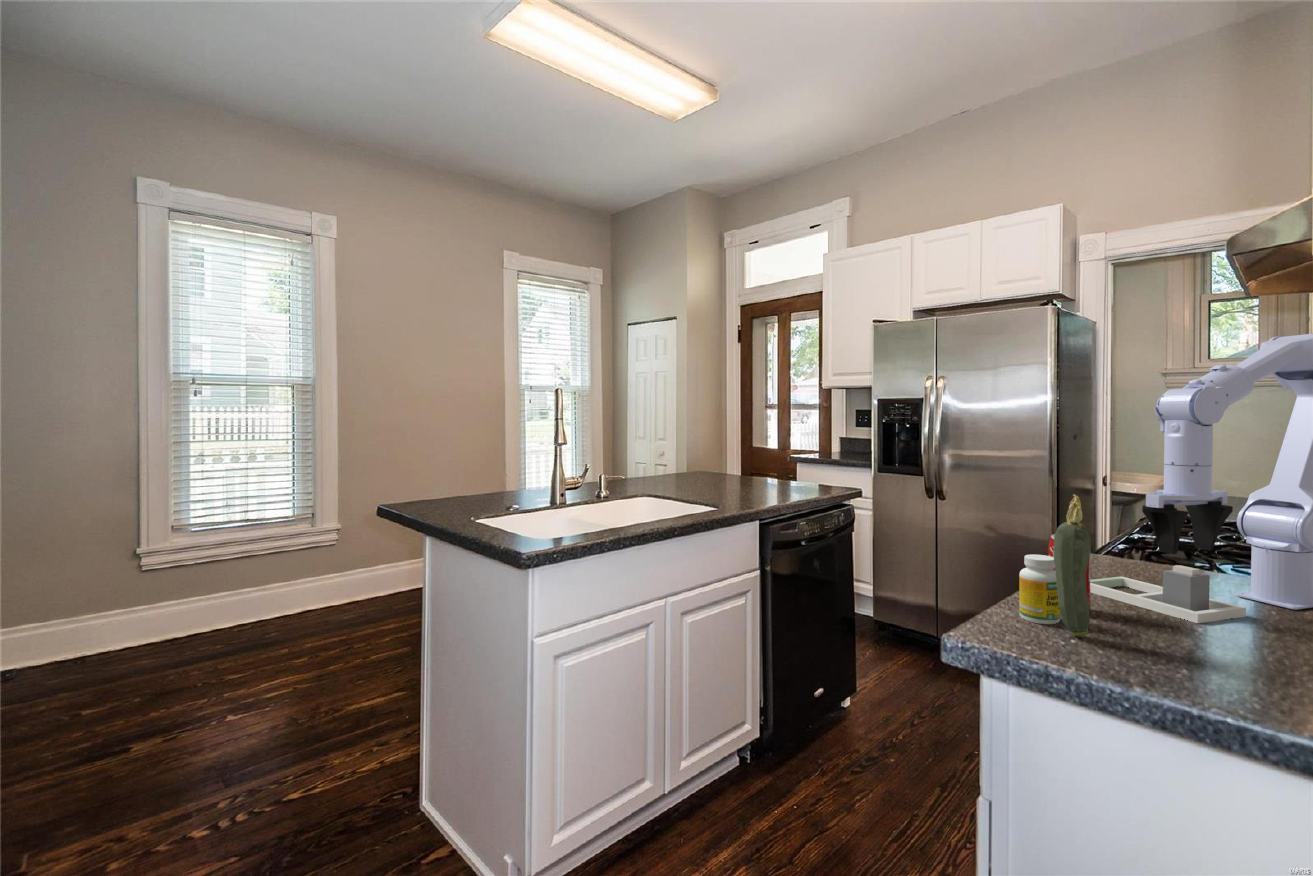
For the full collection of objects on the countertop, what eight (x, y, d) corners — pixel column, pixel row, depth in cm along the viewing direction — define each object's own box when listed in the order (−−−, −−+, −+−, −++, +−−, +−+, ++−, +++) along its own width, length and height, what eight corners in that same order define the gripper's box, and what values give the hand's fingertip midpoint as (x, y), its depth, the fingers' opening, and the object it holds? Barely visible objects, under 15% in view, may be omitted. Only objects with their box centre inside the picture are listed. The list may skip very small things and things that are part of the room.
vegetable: (1078, 644, 83) (1079, 498, 82) (1046, 634, 87) (1046, 494, 86) (1096, 638, 85) (1098, 495, 84) (1064, 629, 89) (1064, 492, 88)
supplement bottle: (1029, 611, 97) (1030, 551, 97) (1067, 620, 92) (1067, 557, 92) (1012, 618, 94) (1012, 556, 94) (1050, 627, 89) (1050, 563, 89)
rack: (1121, 584, 111) (1121, 576, 111) (1245, 616, 93) (1245, 607, 93) (1078, 588, 108) (1078, 581, 108) (1197, 623, 90) (1197, 614, 90)
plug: (1181, 605, 99) (1181, 563, 99) (1209, 613, 95) (1209, 569, 95) (1162, 607, 98) (1163, 565, 97) (1190, 615, 94) (1190, 571, 94)
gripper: (1193, 461, 101) (1191, 542, 102) (1126, 464, 97) (1125, 548, 98) (1243, 464, 94) (1242, 551, 95) (1174, 467, 91) (1172, 558, 91)
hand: (1186, 551), depth 96 cm, fingers open, 7 cm apart
